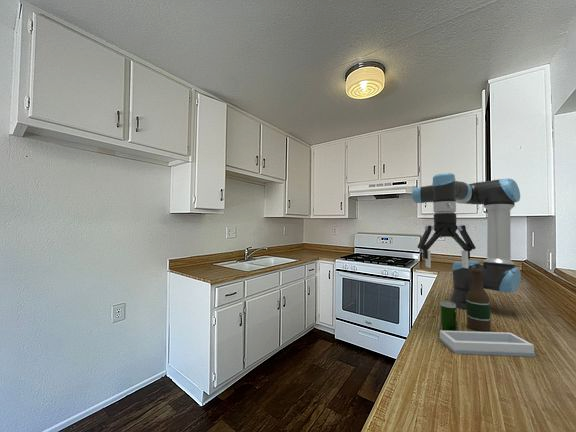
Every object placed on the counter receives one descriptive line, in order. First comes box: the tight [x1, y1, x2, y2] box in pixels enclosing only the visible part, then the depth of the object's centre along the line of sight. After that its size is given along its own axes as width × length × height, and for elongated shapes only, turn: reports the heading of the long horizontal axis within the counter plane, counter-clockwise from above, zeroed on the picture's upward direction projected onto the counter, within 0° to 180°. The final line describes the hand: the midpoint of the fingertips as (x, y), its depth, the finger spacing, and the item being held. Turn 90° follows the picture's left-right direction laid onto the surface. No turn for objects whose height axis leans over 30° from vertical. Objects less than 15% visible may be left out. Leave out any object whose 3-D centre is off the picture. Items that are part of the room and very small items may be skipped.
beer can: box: [439, 300, 459, 331], centre depth 95 cm, size 5×5×12 cm
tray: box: [438, 329, 536, 358], centre depth 85 cm, size 10×24×4 cm, turn 84°
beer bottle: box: [466, 268, 492, 332], centre depth 101 cm, size 8×8×24 cm
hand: (446, 267), depth 96 cm, fingers open, 13 cm apart
